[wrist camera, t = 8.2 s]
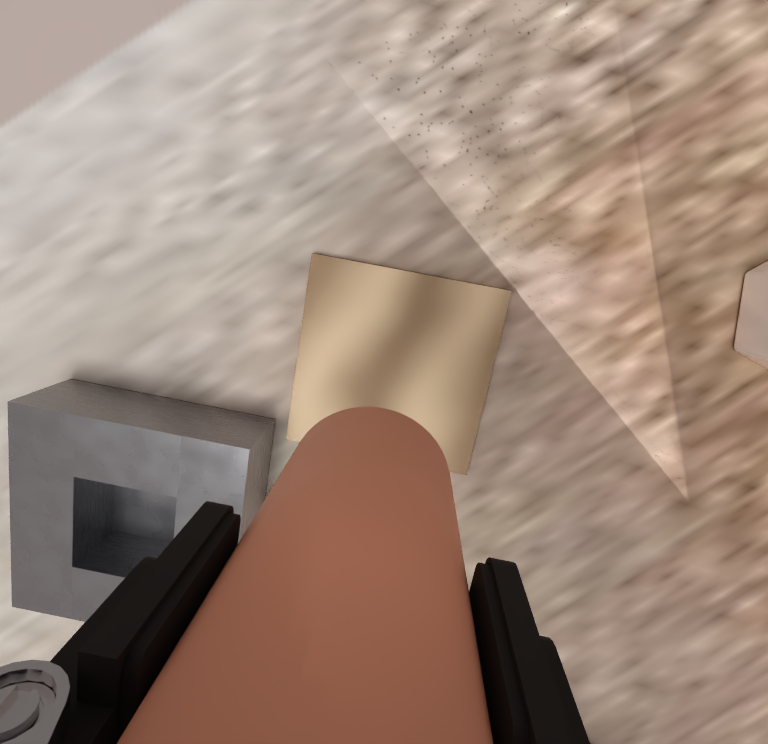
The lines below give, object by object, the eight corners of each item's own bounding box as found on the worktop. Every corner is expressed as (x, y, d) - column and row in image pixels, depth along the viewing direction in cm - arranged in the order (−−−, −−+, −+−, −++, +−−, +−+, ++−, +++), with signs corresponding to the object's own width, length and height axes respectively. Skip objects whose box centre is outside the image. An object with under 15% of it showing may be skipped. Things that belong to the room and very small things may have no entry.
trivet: (510, 290, 28) (512, 291, 28) (465, 470, 31) (466, 474, 31) (313, 253, 28) (311, 253, 28) (288, 436, 31) (285, 439, 31)
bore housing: (275, 419, 31) (249, 449, 26) (252, 595, 35) (225, 650, 30) (70, 378, 31) (7, 401, 27) (67, 557, 35) (12, 606, 30)
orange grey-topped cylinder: (466, 424, 14) (609, 888, 4) (431, 567, 15) (469, 1210, 5) (301, 392, 14) (0, 761, 4) (280, 536, 15) (10, 1108, 5)
